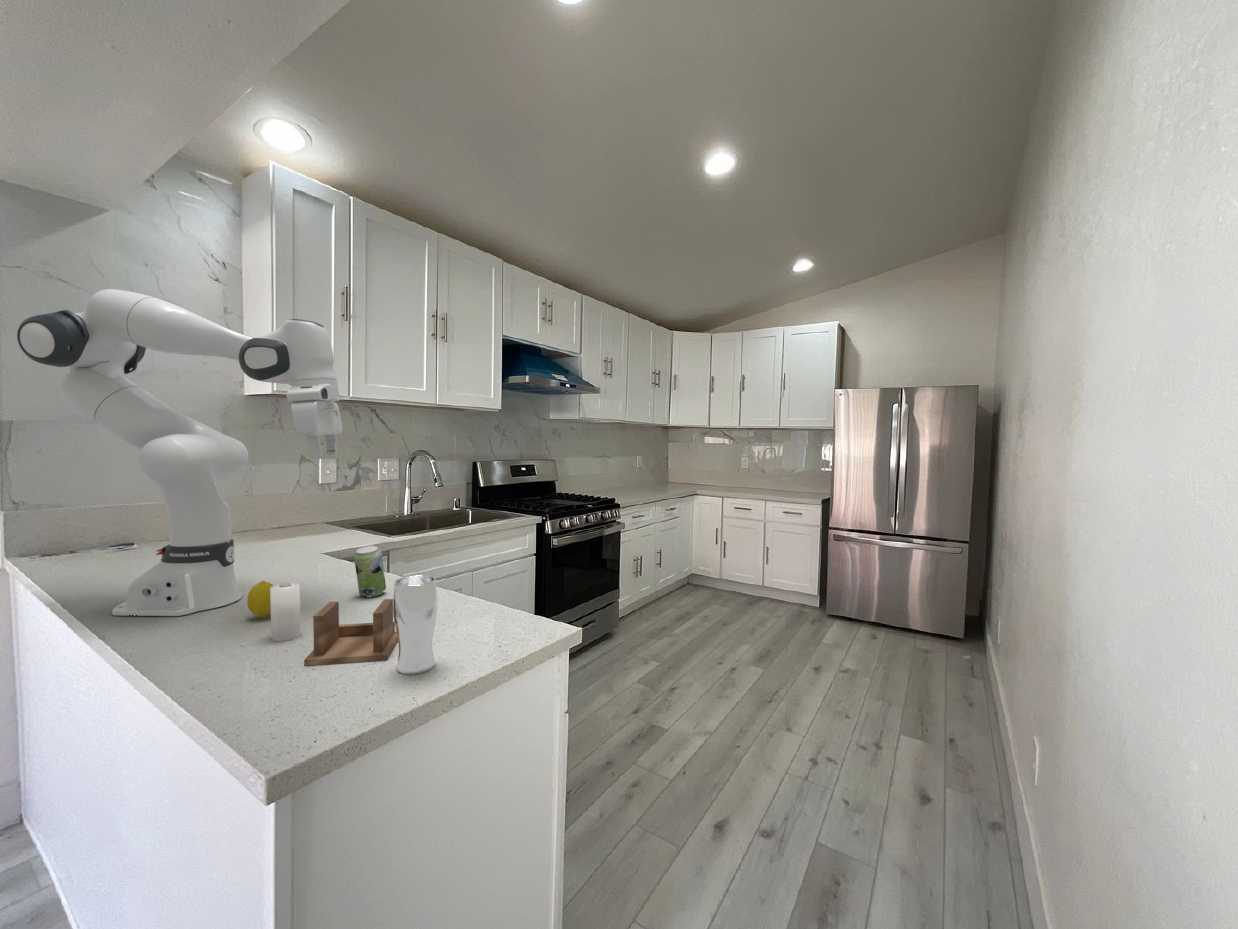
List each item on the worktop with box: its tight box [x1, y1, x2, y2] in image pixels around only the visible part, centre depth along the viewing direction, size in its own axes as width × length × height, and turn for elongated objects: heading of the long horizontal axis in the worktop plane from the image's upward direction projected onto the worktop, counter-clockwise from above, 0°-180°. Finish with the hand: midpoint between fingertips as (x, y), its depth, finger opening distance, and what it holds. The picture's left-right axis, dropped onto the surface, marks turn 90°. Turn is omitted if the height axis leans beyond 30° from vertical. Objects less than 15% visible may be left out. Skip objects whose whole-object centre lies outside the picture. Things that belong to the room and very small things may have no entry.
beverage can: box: [353, 545, 387, 597], centre depth 126 cm, size 6×7×12 cm
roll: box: [270, 582, 302, 642], centre depth 100 cm, size 5×5×10 cm
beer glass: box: [392, 574, 438, 675], centre depth 88 cm, size 7×7×15 cm
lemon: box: [246, 580, 275, 619], centre depth 110 cm, size 6×6×8 cm
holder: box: [303, 598, 399, 666], centre depth 94 cm, size 13×11×8 cm
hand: (325, 456), depth 116 cm, fingers open, 8 cm apart
